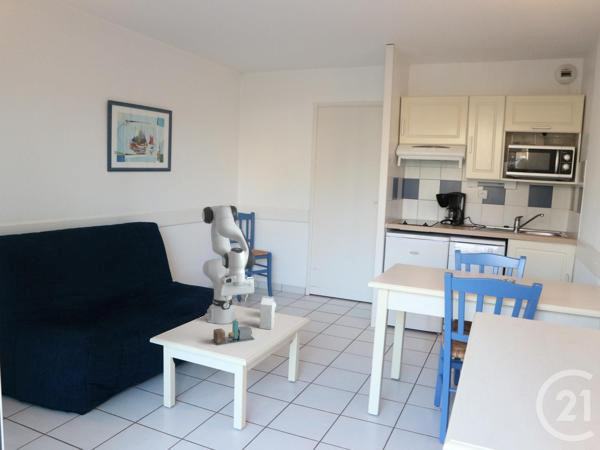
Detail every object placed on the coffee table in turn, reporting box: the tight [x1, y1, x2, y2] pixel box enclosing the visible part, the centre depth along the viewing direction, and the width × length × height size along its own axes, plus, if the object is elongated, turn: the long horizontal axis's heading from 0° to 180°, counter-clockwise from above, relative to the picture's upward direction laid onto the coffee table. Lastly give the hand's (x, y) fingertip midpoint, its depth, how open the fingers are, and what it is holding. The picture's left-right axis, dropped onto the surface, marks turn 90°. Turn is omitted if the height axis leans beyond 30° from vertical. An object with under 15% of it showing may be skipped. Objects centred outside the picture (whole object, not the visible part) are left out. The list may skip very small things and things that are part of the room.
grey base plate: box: [211, 325, 255, 346], centre depth 265 cm, size 22×8×6 cm, turn 120°
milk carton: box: [259, 295, 276, 330], centre depth 288 cm, size 7×7×19 cm
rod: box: [227, 319, 253, 339], centre depth 267 cm, size 13×4×10 cm, turn 120°
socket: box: [212, 328, 226, 343], centre depth 261 cm, size 4×6×6 cm
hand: (236, 302), depth 263 cm, fingers open, 8 cm apart
